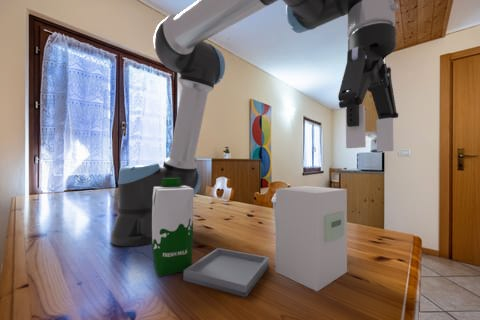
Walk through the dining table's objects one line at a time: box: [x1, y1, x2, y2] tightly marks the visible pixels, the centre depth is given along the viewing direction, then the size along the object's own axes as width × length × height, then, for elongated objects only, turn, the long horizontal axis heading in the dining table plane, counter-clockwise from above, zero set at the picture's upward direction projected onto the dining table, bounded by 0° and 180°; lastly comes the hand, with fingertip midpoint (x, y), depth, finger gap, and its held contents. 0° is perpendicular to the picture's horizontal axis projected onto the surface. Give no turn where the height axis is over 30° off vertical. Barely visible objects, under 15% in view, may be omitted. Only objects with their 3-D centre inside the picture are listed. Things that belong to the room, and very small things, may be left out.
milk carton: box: [151, 178, 195, 278], centre depth 52 cm, size 9×9×20 cm
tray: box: [182, 247, 270, 298], centre depth 49 cm, size 14×14×2 cm
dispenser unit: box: [275, 185, 348, 292], centre depth 50 cm, size 11×12×18 cm
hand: (371, 149), depth 41 cm, fingers open, 13 cm apart
